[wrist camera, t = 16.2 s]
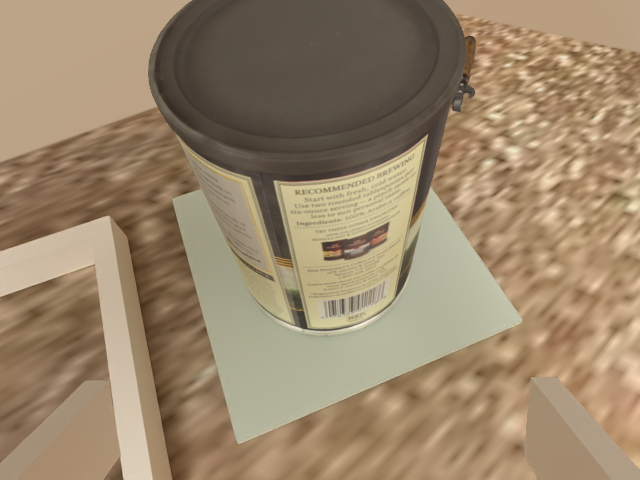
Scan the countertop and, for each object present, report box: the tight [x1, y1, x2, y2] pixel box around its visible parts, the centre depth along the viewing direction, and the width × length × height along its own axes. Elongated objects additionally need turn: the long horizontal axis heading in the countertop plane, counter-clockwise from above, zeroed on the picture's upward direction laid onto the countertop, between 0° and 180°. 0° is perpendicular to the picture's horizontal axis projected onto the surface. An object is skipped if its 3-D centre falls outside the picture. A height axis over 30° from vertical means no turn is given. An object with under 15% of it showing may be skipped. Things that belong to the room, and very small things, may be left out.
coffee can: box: [148, 0, 467, 336], centre depth 20 cm, size 10×10×14 cm
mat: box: [172, 186, 523, 444], centre depth 26 cm, size 16×16×1 cm
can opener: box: [453, 36, 476, 112], centre depth 34 cm, size 9×2×1 cm, turn 157°
